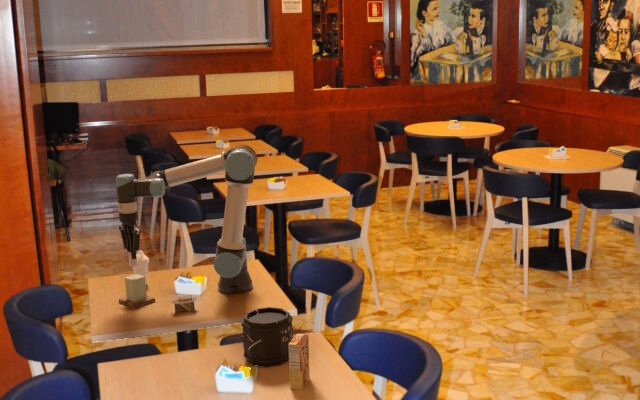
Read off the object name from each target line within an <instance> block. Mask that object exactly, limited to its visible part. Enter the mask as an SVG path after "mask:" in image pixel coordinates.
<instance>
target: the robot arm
mask: <svg viewBox="0 0 640 400" xmlns="http://www.w3.org/2000/svg"><path fill="white" fill-rule="evenodd" d="M257 155H258V154H257V153H256V151H255V149H253V148H252V147H251V146H249V145H246V144H242V145H237V146H235V147H233V148H230V149H227V150H223V151H222V153H221V154H217V155H215V156H211V157H208V158H203V159H199V160H196V161H193V162H189V163H185V164H182V165H179V166H174V167H170V168H167V169H165V170H157V171H153V172H152V173H150V174H149V176H147V177H146V178H135V175H134V174H133V173H123V174H118V175H117V176H116V177H115V188H116V197H117V198H116V199H117V208H118V212H119V213H118V218H119V222H120V223H121V225H119V226H118V229H119V232H120V236H121V241H122V245H123V248H124V250H126V251H127V255H128V256H127V257H128V263H129V267H130V268H132V267H134V266H137V260H136V258H137V257H136V254H137V252H138V251H139V250H140V241H141V234H142V233H141V232H142V230H141V229H140V228H138V226H137V221H138V220H139V214H138V211H137V210H138V203H137V198H158V197H163V196H164V195H165V194H166V189H168V188H171V187H174V186H178V185H181V184H184V183H185V184H186V183H188V182H189V183H190V182H193V181H196V180H200V179H203V178H208V177H210V176H211V177H212V176H215V175H217V174H223V173H225V175H224V181H225V182H226V183H227V189H226V197H225V204H224V205H225V206H224V214H223V223H222V229H221V230H222V231H221V232H222V233H221V238H219V240H218V241H217V242H216V250H215V258H214V260H213V268H214V271H215V273H216V274H217V275H219V279H218V283H217V290H218V291H219V292H221V293H222V294H223V293H224V294H239V293H245V292H248V291H250V290H251V289H253V281H252V280H253V279H252V277H251V275H250V273H249V270H248V259H247V258H248V256H247V255H248V254H247V242H246V238H245V237H243V236H244V235H243V234H244V227H245V220H246V213H247V211H246V210H247V203H248V196H249V195H248V194H249V188H250V187H251V185H252V184H254V177H255V170H256V166H257V163H258V156H257Z"/></svg>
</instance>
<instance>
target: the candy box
mask: <svg viewBox="0 0 640 400" xmlns="http://www.w3.org/2000/svg"><path fill="white" fill-rule="evenodd" d="M309 347H310V344H309V334H306V333H305V334H304V333H296V335H294V336H293V339H292V340H291V342H290V343H289V344H288V348H289V361H288V366H289V367H288V368H289V386H290V389H292V390H299V391H300V390H303V388H304V387H305V385H306V384H307V383H308V381H309V380H310V378H311V373H310V348H309Z"/></svg>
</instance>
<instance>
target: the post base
mask: <svg viewBox="0 0 640 400" xmlns="http://www.w3.org/2000/svg"><path fill="white" fill-rule="evenodd" d="M118 303H119V304H123V305H125V306H128V307H130V308H133V309H137V308H141V307H144V306H146V305H149V304H152V303H156V298H155V297H153V296H150V295H147V298H146V299H143V300H140V301H137V302H133V301H131V300H128V299H127V296H125V297H122V298H118Z"/></svg>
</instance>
